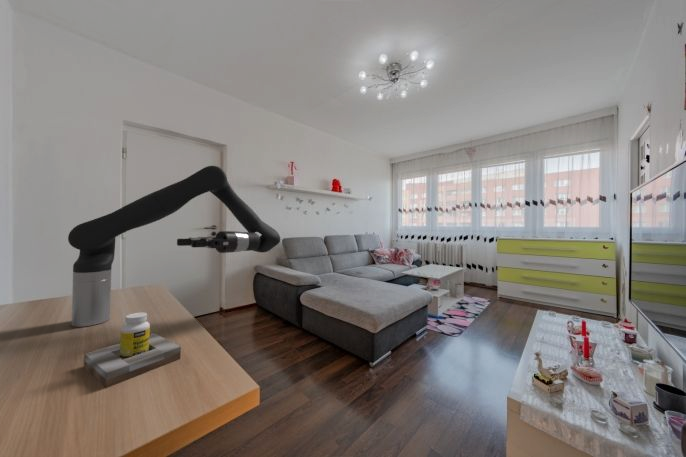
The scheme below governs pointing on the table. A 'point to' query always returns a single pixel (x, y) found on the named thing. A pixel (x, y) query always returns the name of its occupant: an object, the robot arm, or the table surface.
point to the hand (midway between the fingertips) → (184, 243)
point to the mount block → (130, 360)
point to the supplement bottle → (134, 335)
